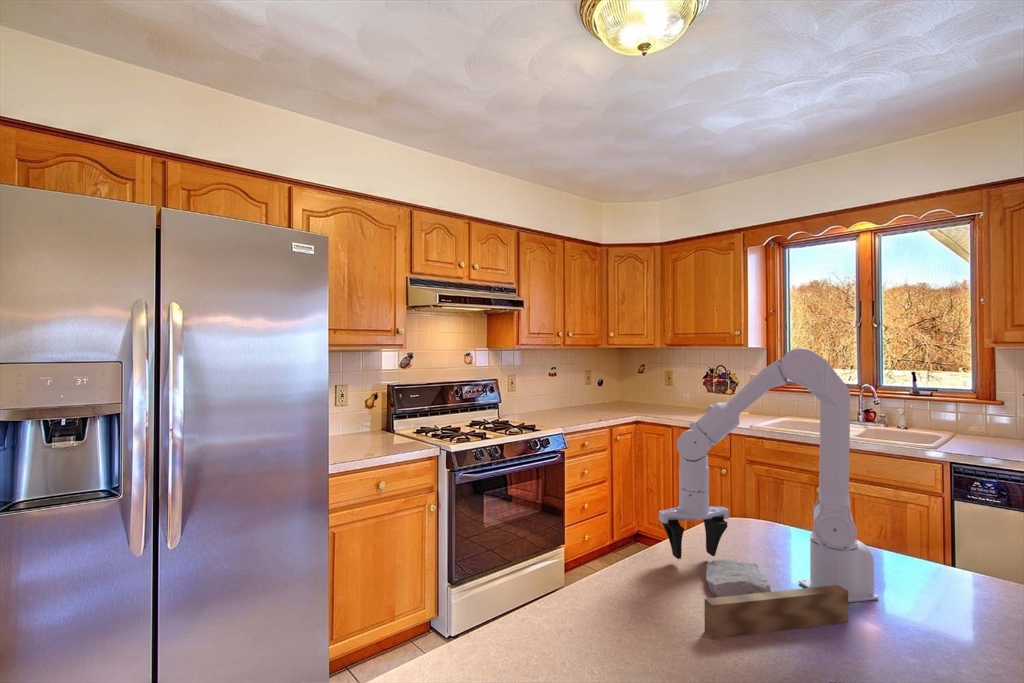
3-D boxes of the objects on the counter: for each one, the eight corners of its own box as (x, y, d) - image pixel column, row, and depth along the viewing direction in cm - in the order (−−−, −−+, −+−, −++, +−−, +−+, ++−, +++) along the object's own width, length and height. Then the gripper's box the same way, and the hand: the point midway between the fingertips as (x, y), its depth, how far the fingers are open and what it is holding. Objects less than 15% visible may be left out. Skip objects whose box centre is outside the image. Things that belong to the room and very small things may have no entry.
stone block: (716, 614, 85) (778, 608, 83) (710, 585, 86) (771, 579, 84) (704, 584, 97) (758, 578, 95) (698, 559, 97) (752, 553, 95)
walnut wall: (837, 615, 81) (837, 585, 81) (848, 622, 79) (848, 590, 79) (704, 631, 77) (704, 598, 77) (712, 638, 75) (712, 605, 75)
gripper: (714, 481, 107) (714, 545, 107) (651, 484, 104) (651, 550, 104) (735, 490, 100) (735, 558, 100) (668, 494, 97) (668, 564, 97)
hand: (693, 555), depth 101 cm, fingers open, 7 cm apart
